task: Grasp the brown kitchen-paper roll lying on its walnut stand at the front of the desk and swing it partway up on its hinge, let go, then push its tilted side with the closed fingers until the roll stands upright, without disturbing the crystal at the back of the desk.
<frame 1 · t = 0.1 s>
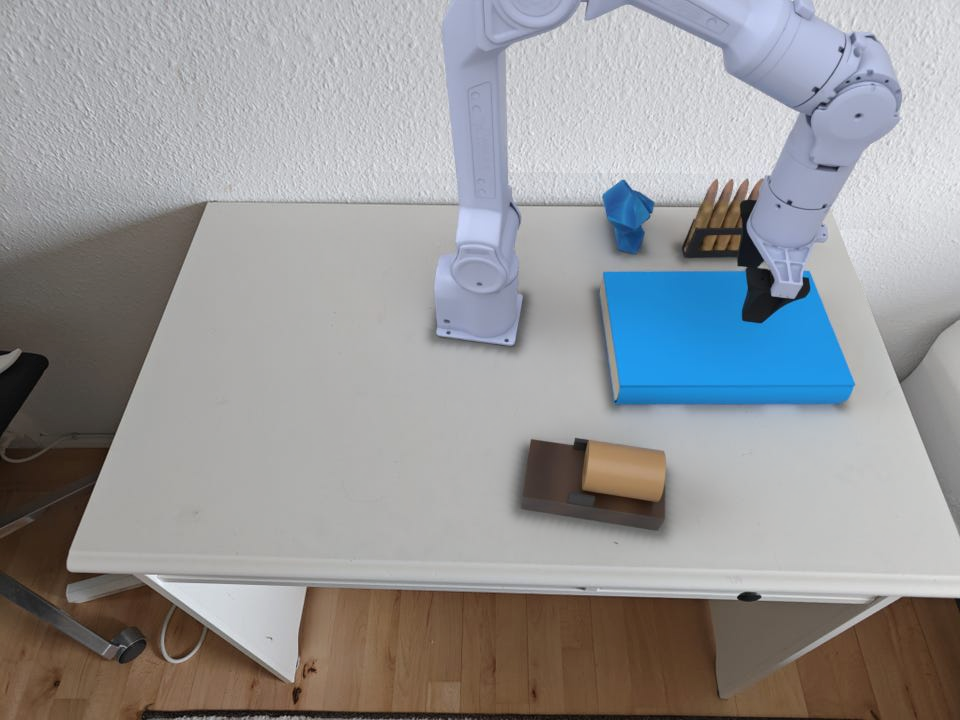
hand: (749, 291, 66), 10 cm above the table, tool pointing down, fingers open, 7 cm apart
crystal: (623, 239, 85), on the table
ammunition clip: (722, 253, 84), on the table
book: (710, 347, 75), on the table
towel roll: (622, 470, 60), point 5 cm above the table, hinge at 0.0°
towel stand: (578, 488, 65), on the table
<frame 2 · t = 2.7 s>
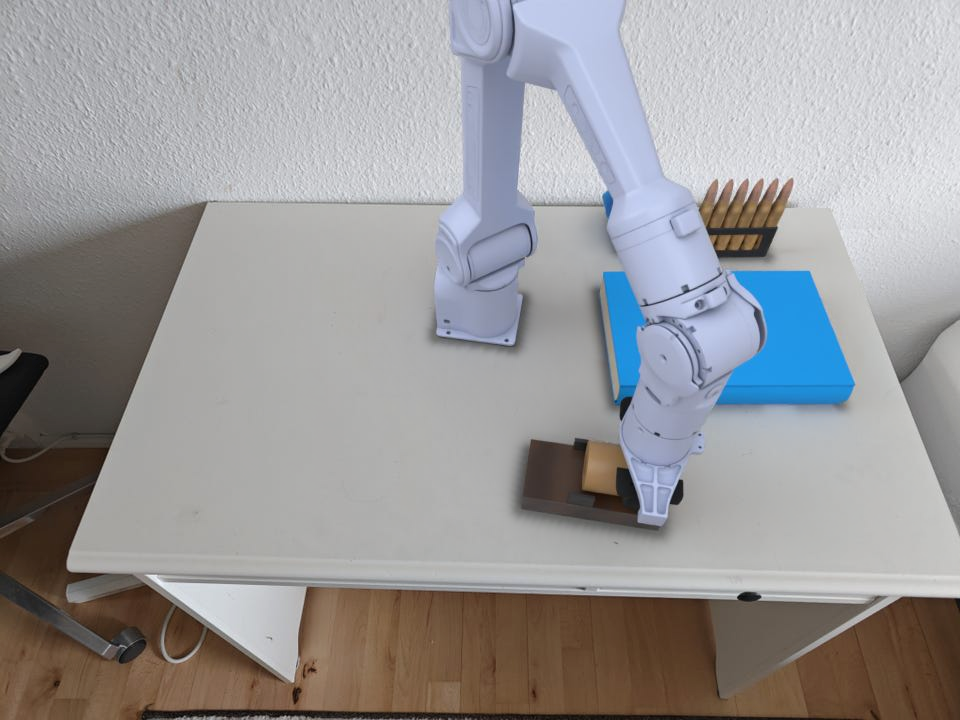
hand: (635, 480, 61), 4 cm above the table, tool pointing down, fingers closed on towel roll, 5 cm apart
towel roll: (622, 470, 60), point 5 cm above the table, hinge at 0.0°, touching gripper, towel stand
everything else where it was.
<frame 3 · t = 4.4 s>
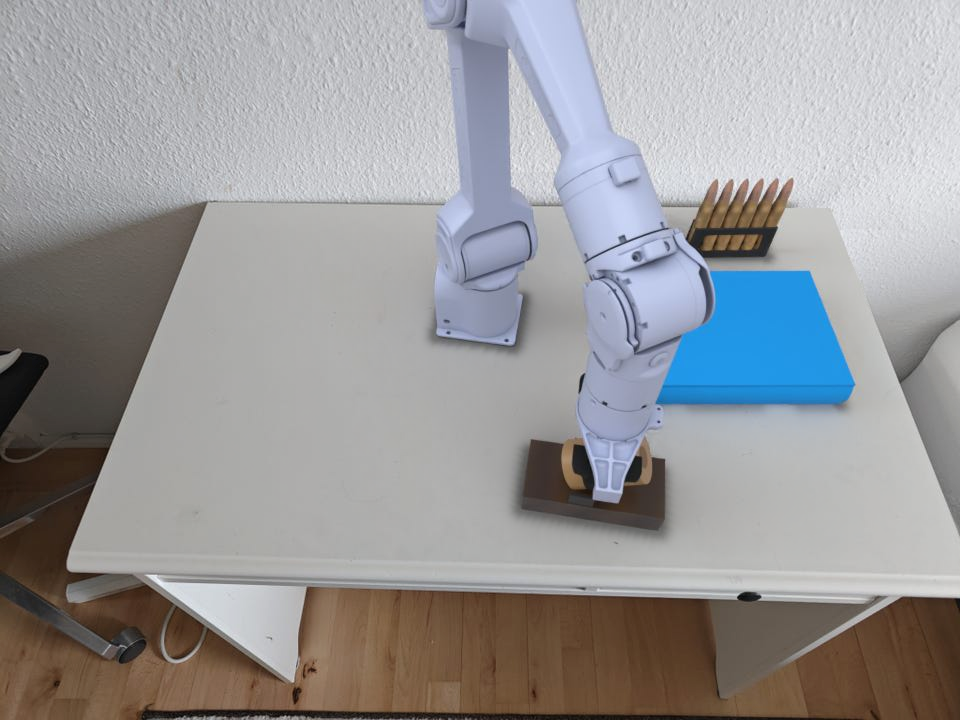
hand: (598, 460, 59), 7 cm above the table, tool pointing down, fingers closed on towel roll, 5 cm apart
towel roll: (606, 460, 59), point 7 cm above the table, hinge at 30.8°, touching gripper, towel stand
everything else where it was.
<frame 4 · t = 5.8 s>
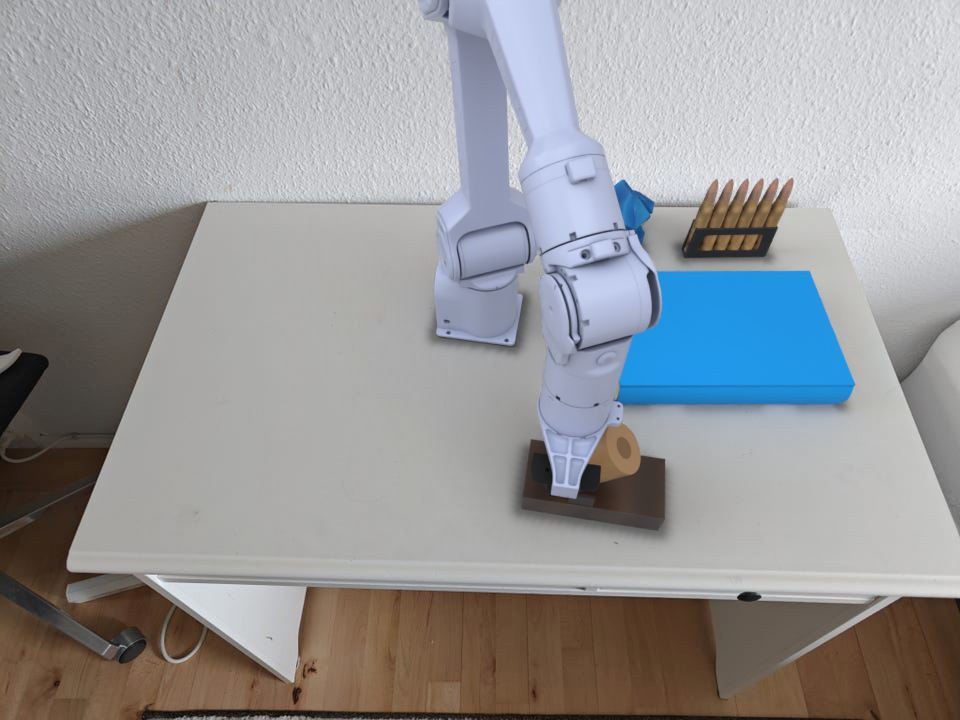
hand: (563, 456, 60), 6 cm above the table, tool pointing down, fingers open, 7 cm apart
towel roll: (593, 457, 59), point 7 cm above the table, hinge at 48.5°
everything else where it was.
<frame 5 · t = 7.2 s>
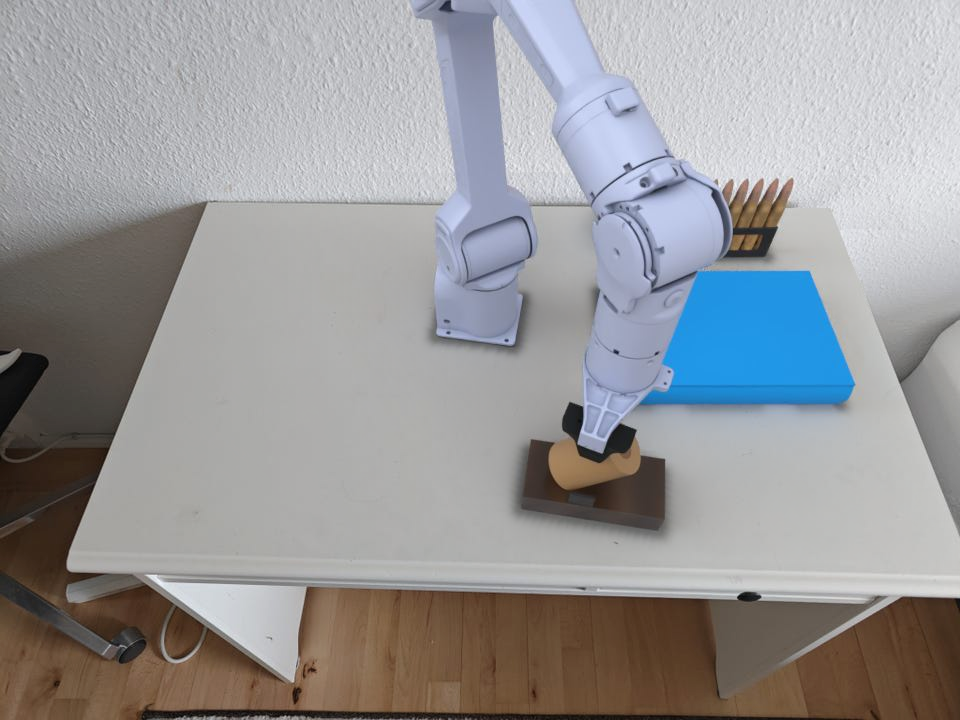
hand: (604, 420, 57), 10 cm above the table, tool pointing down, fingers open, 7 cm apart
towel roll: (593, 457, 59), point 7 cm above the table, hinge at 48.4°, touching gripper
everything else where it was.
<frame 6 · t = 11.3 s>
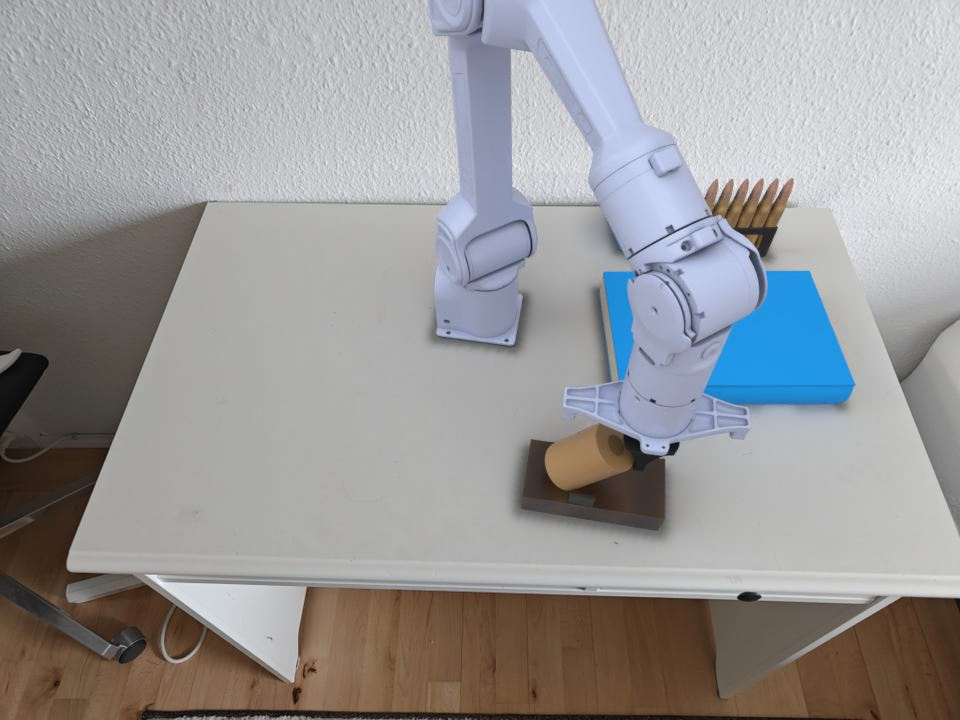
hand: (636, 460, 58), 8 cm above the table, tool pointing down, fingers closed, pressing on towel roll
towel roll: (588, 456, 59), point 7 cm above the table, hinge at 54.8°, touching gripper, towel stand
everything else where it was.
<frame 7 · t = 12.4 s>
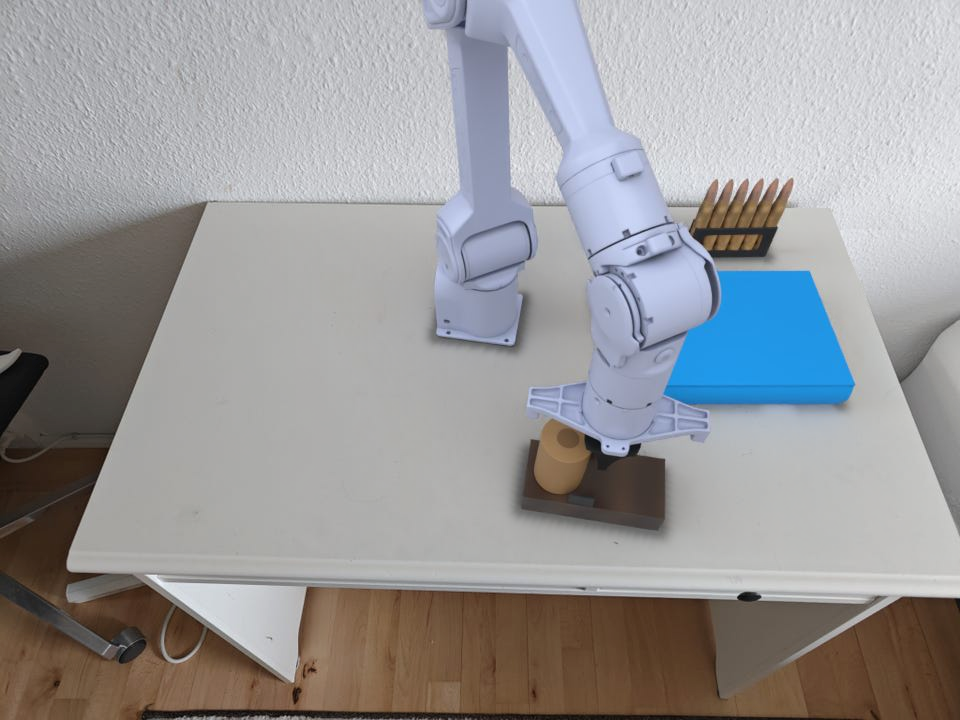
hand: (601, 460, 58), 7 cm above the table, tool pointing down, fingers closed
towel roll: (562, 455, 60), point 7 cm above the table, hinge at 88.1°, touching gripper, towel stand
everything else where it was.
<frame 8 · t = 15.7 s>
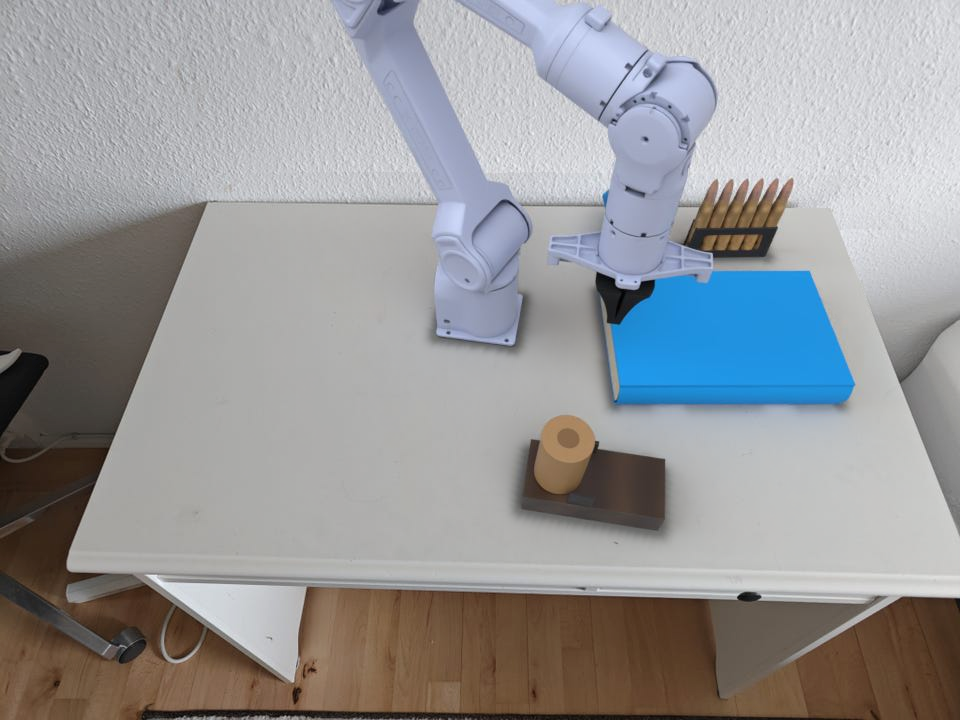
hand: (613, 316, 64), 10 cm above the table, tool pointing down, fingers closed
towel roll: (562, 455, 60), point 7 cm above the table, hinge at 87.9°
everything else where it was.
at the end: towel roll at +88° (first picture: +0°); the gripper is holding nothing; crystal moved 0.2 cm from its start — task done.
